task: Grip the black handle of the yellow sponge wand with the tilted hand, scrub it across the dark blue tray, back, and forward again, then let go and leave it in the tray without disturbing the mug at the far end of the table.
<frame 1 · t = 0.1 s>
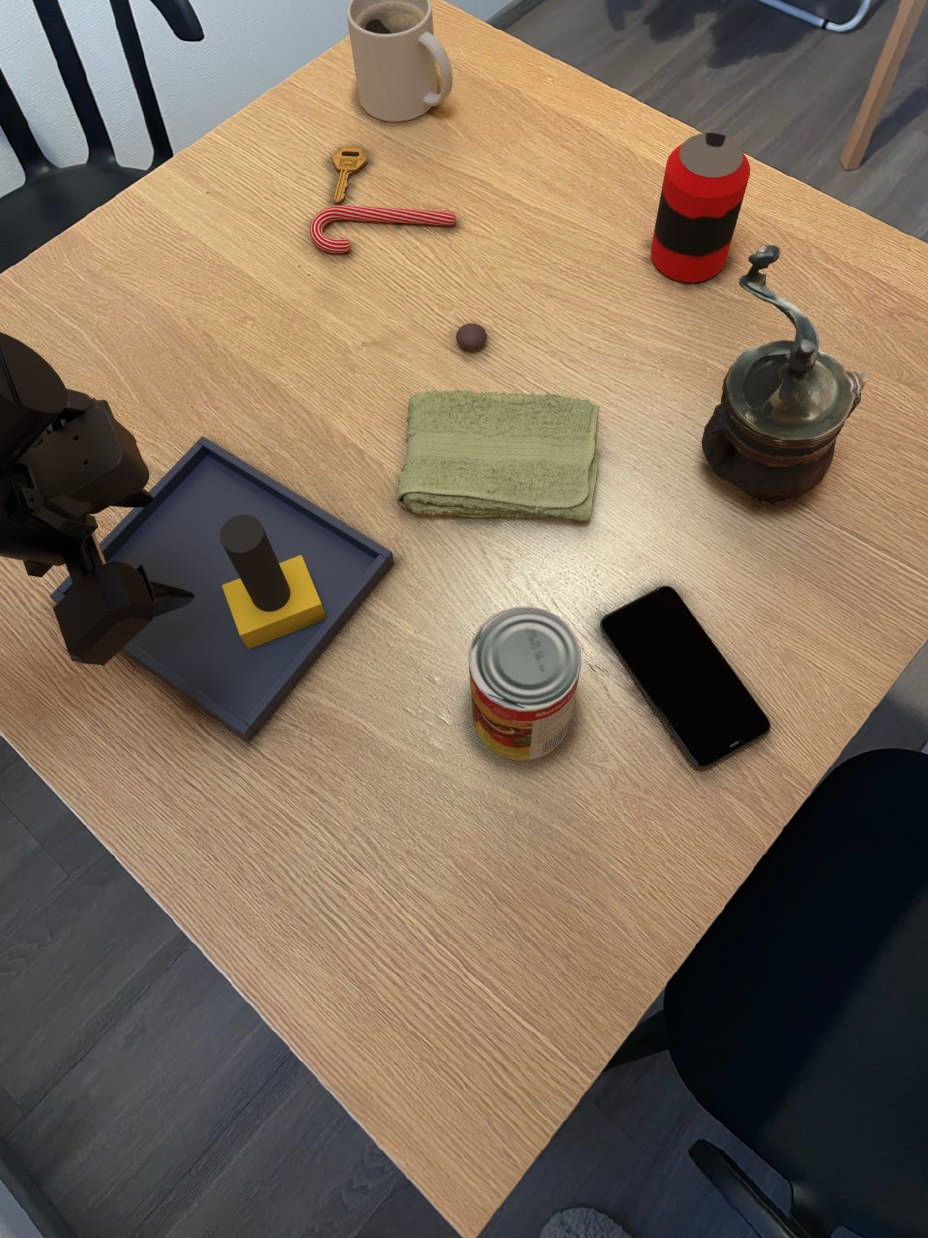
hand: (169, 549, 71), 13 cm above the table, tool tilted 35°, fingers open, 9 cm apart
candy cane: (383, 232, 101), on the table
canned food: (521, 714, 79), on the table
key: (346, 177, 104), on the table
washcloth: (499, 463, 89), on the table
sponge wand: (278, 609, 82), point 1 cm above the table, touching tray
chocolate truffle: (471, 343, 95), on the table
mug: (403, 101, 109), on the table
soda can: (687, 257, 98), on the table
tray: (227, 585, 84), on the table
smartphone: (681, 676, 79), on the table
coffee grinder: (744, 455, 88), on the table
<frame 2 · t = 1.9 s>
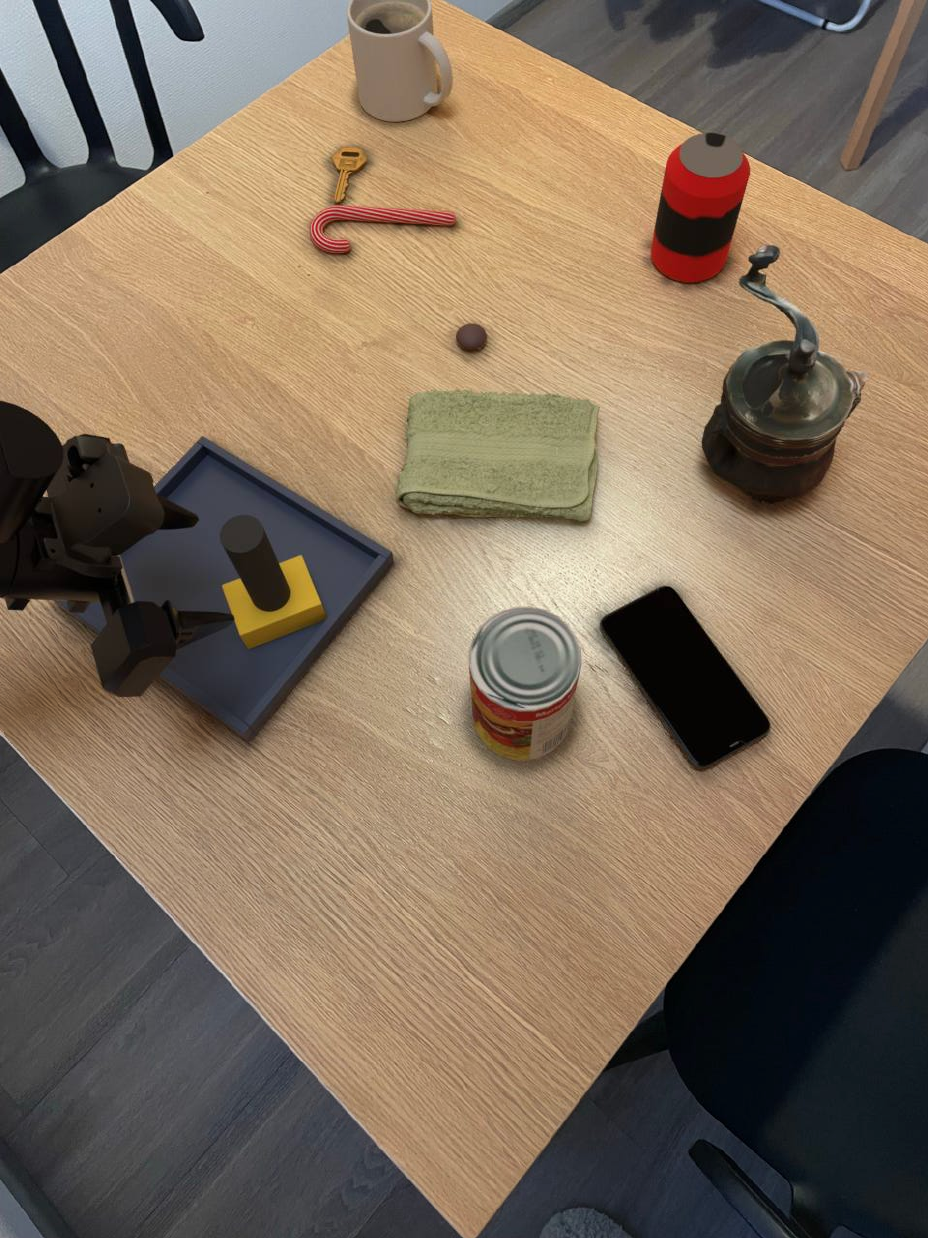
hand: (213, 569, 73), 10 cm above the table, tool tilted 45°, fingers open, 9 cm apart
nothing on the table moved.
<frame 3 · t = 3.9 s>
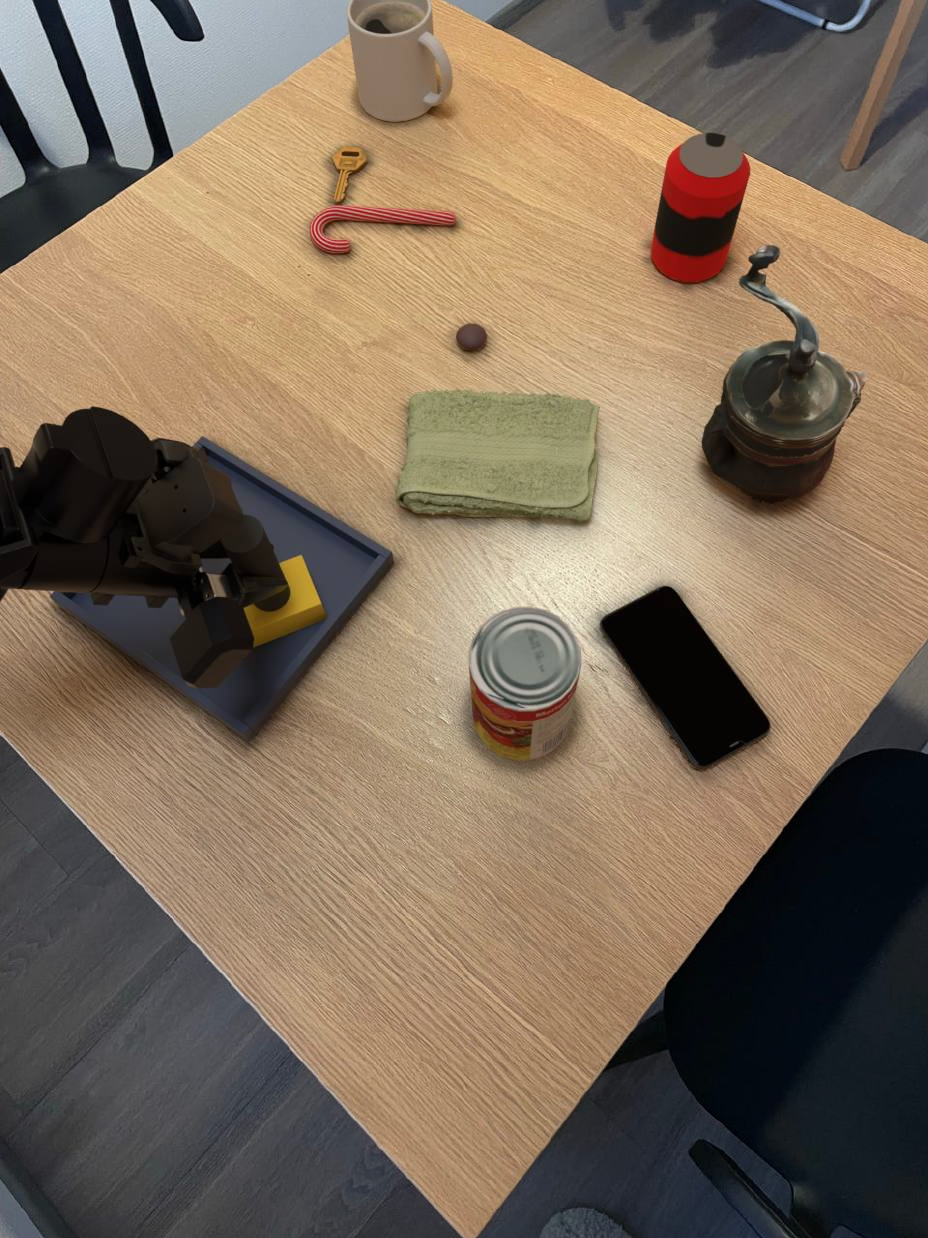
hand: (278, 567, 77), 7 cm above the table, tool tilted 45°, fingers closed on sponge wand, 3 cm apart
sponge wand: (278, 609, 82), point 1 cm above the table, touching gripper, tray
everything else where it was.
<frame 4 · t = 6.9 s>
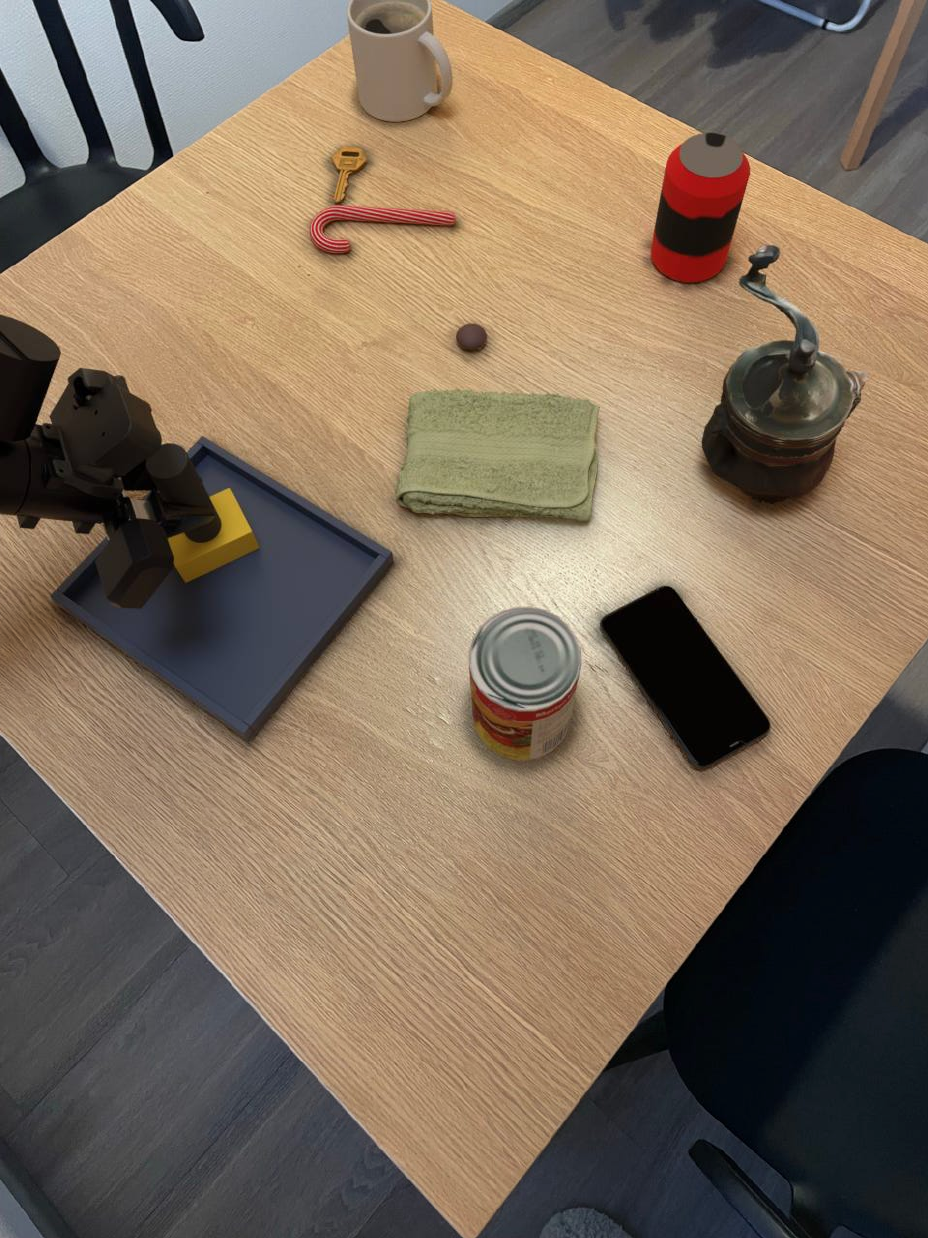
hand: (206, 500, 80), 7 cm above the table, tool tilted 45°, fingers closed on sponge wand, 3 cm apart
sponge wand: (212, 543, 85), point 1 cm above the table, touching gripper
everything else where it was.
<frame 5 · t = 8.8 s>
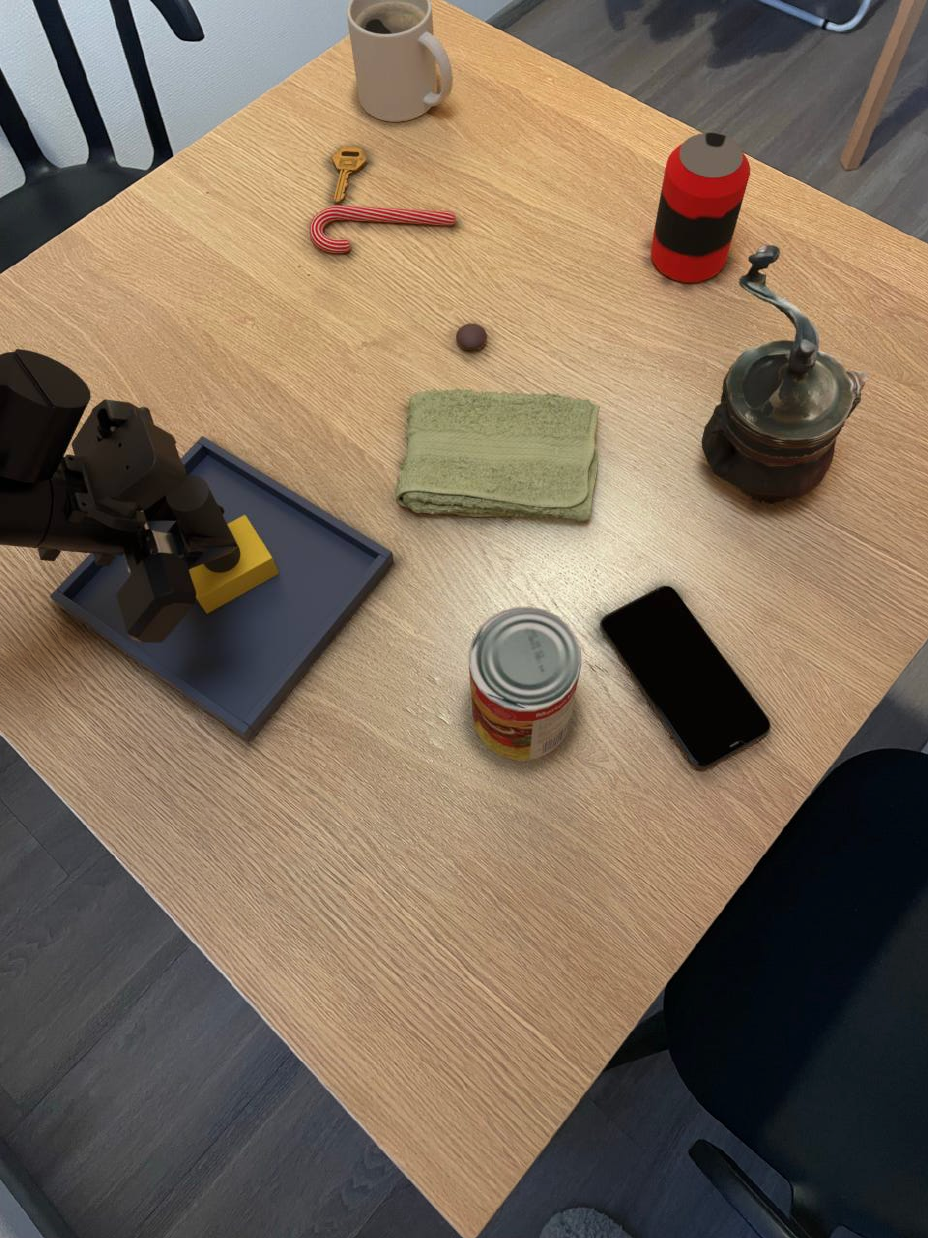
hand: (228, 530, 78), 7 cm above the table, tool tilted 45°, fingers closed on sponge wand, 3 cm apart
sponge wand: (230, 572, 84), point 1 cm above the table, touching gripper
everything else where it was.
when the fingers open (7 cm above the table, at t = 10.0 s): sponge wand stays where it is, resting on tray.
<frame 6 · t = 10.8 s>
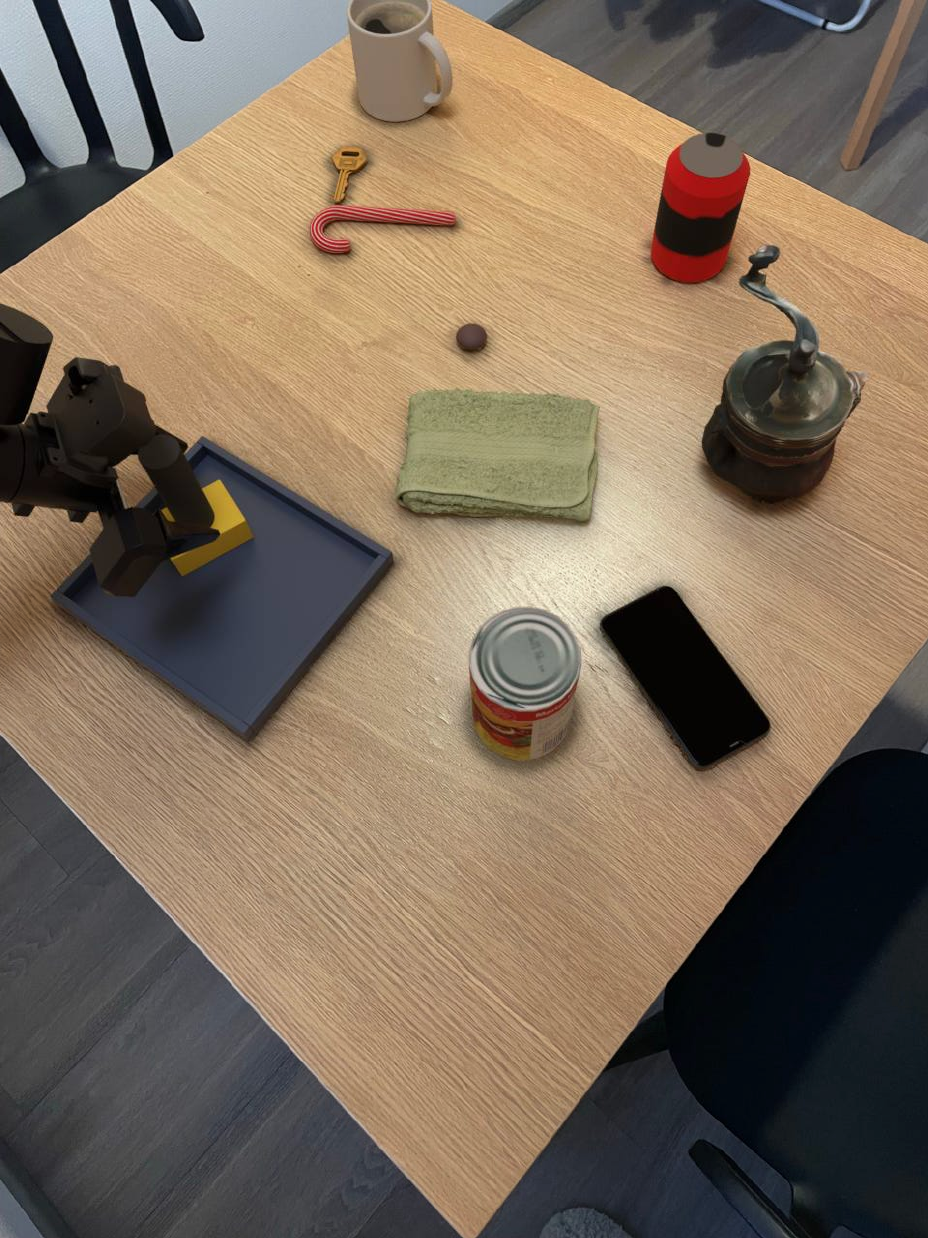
hand: (201, 491, 80), 7 cm above the table, tool tilted 45°, fingers open, 9 cm apart
sponge wand: (205, 536, 86), point 1 cm above the table, touching tray
everything else where it was.
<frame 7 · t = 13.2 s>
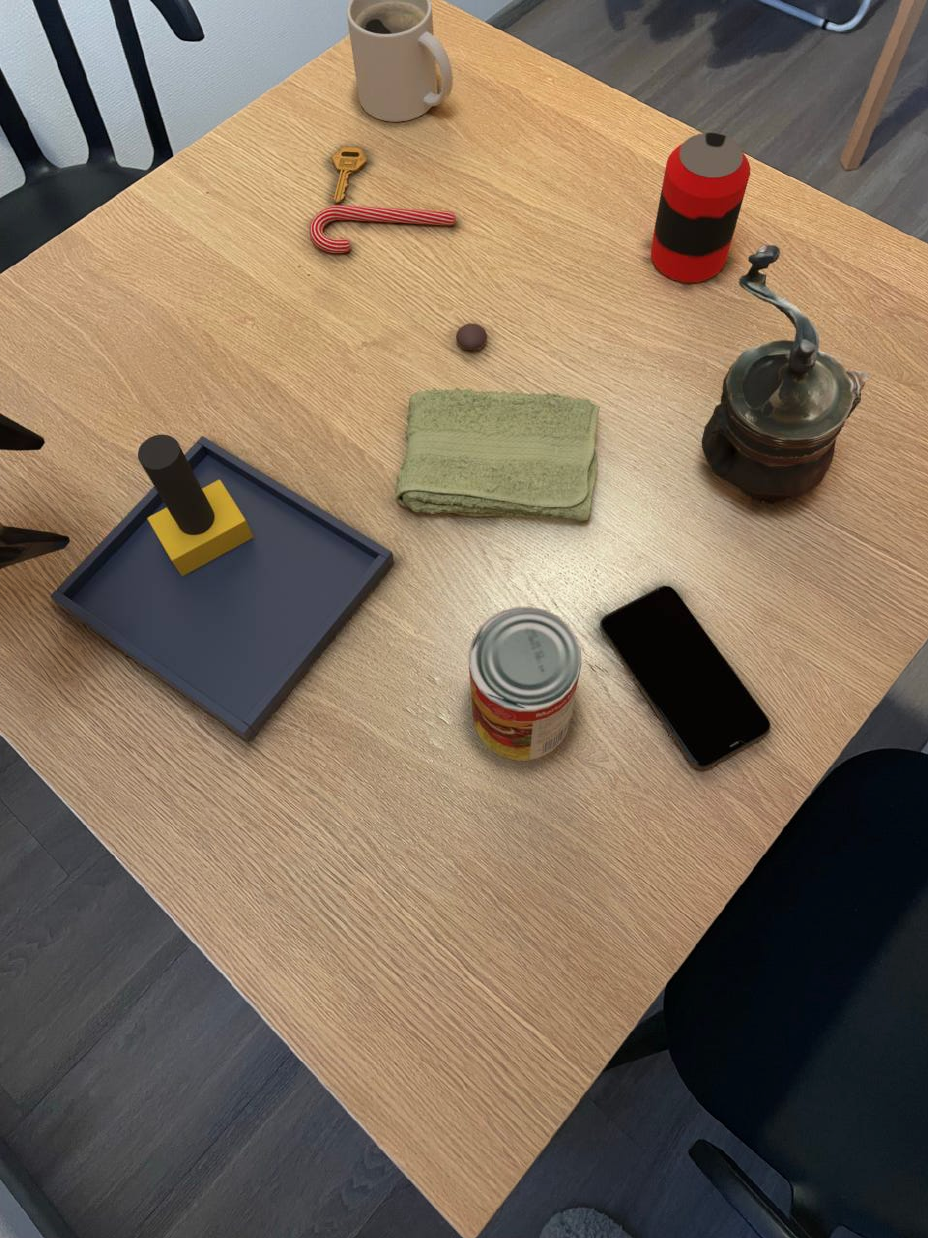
hand: (54, 492, 73), 14 cm above the table, tool tilted 45°, fingers open, 9 cm apart
nothing on the table moved.
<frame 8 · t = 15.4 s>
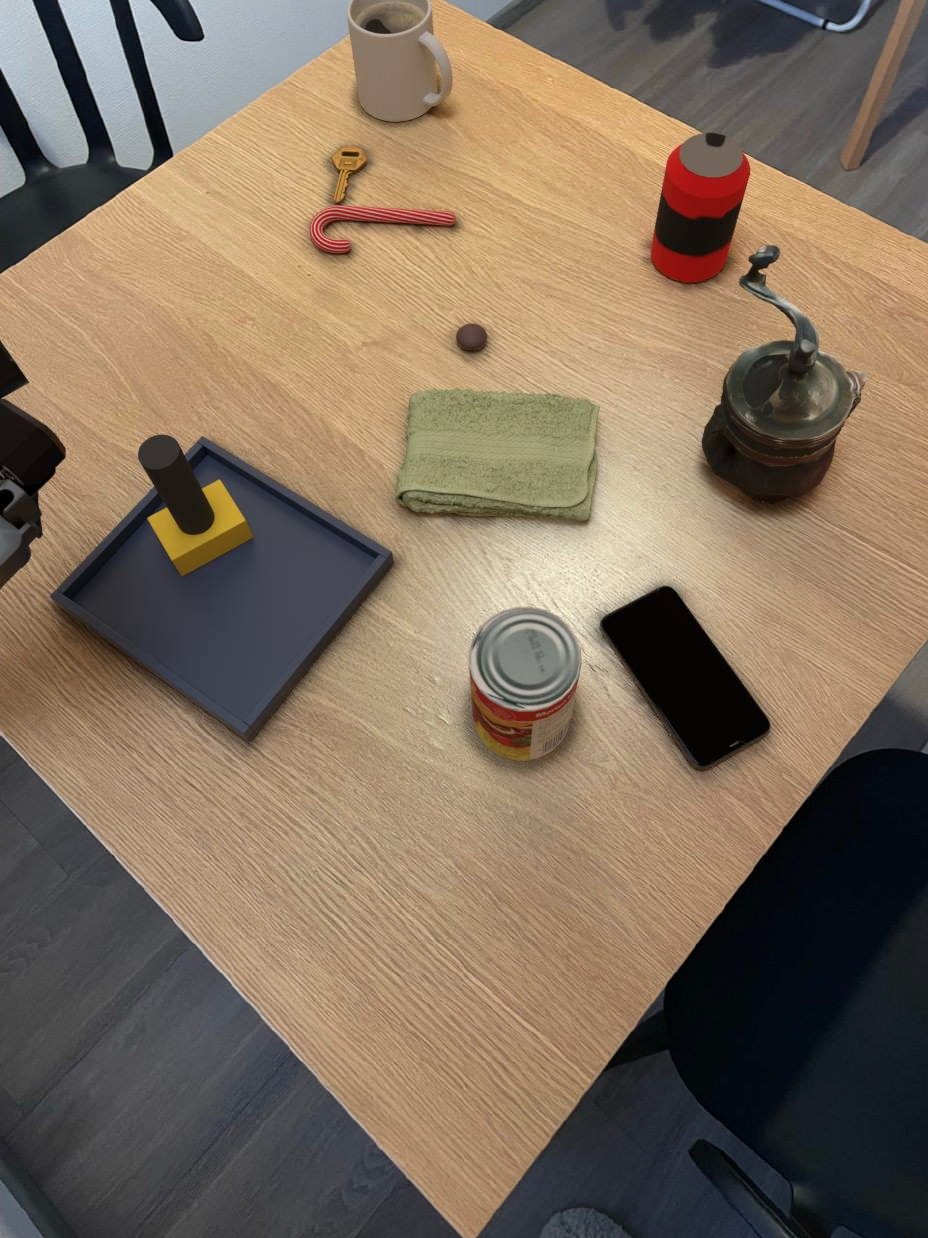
nothing on the table moved.
at the end: sponge wand moved 10.1 cm from its start; sponge wand inside the target area in the tray (5.0 cm from its centre), point 0.6 cm above the tray's base; mug moved 0.2 cm from its start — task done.
